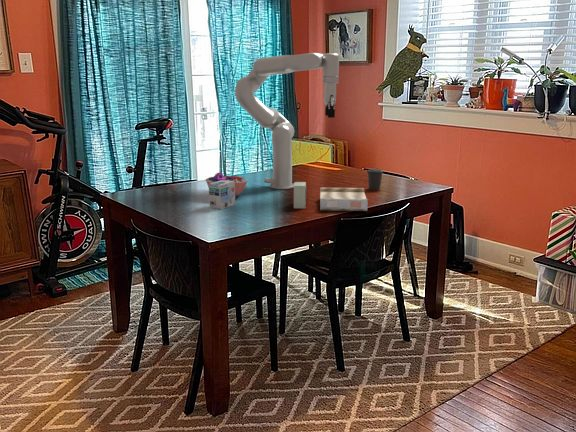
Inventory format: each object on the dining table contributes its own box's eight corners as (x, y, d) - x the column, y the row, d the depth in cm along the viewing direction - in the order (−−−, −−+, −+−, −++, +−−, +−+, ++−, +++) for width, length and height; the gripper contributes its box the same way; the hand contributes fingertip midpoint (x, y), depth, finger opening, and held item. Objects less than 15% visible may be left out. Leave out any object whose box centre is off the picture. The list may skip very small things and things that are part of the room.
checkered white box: (320, 211, 246) (320, 198, 244) (320, 199, 267) (320, 187, 265) (367, 211, 245) (367, 199, 243) (363, 199, 266) (364, 188, 264)
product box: (293, 208, 251) (293, 185, 248) (294, 203, 259) (294, 181, 256) (305, 208, 251) (306, 185, 248) (306, 203, 258) (306, 182, 256)
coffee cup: (372, 186, 293) (373, 167, 290) (385, 189, 287) (386, 169, 285) (362, 188, 287) (363, 169, 285) (375, 191, 282) (376, 171, 279)
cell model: (238, 202, 261) (237, 177, 258) (199, 198, 267) (198, 174, 264) (253, 194, 276) (252, 171, 273) (215, 191, 283) (215, 168, 280)
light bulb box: (221, 209, 248) (220, 185, 245) (208, 207, 252) (208, 183, 249) (236, 204, 257) (235, 180, 254) (224, 202, 260) (223, 179, 258)
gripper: (320, 79, 282) (320, 114, 287) (325, 80, 266) (324, 118, 270) (335, 79, 283) (335, 114, 287) (341, 80, 266) (340, 118, 271)
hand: (329, 116), depth 279 cm, fingers open, 9 cm apart
